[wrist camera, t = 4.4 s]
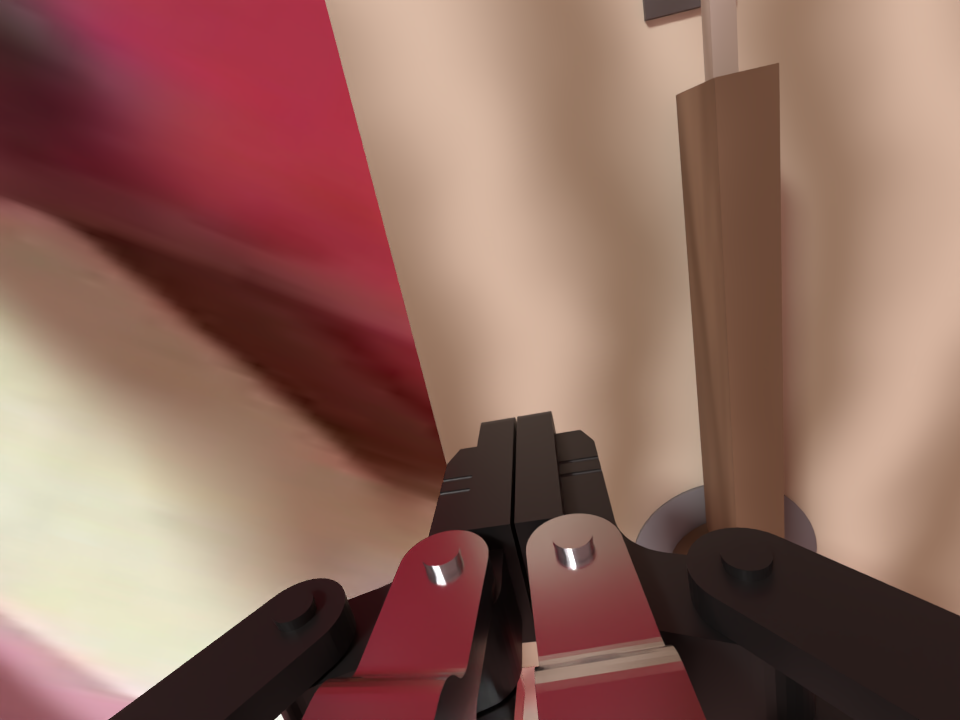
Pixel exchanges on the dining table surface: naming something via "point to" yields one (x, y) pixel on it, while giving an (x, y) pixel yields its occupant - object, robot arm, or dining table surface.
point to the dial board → (681, 248)
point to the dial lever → (735, 279)
